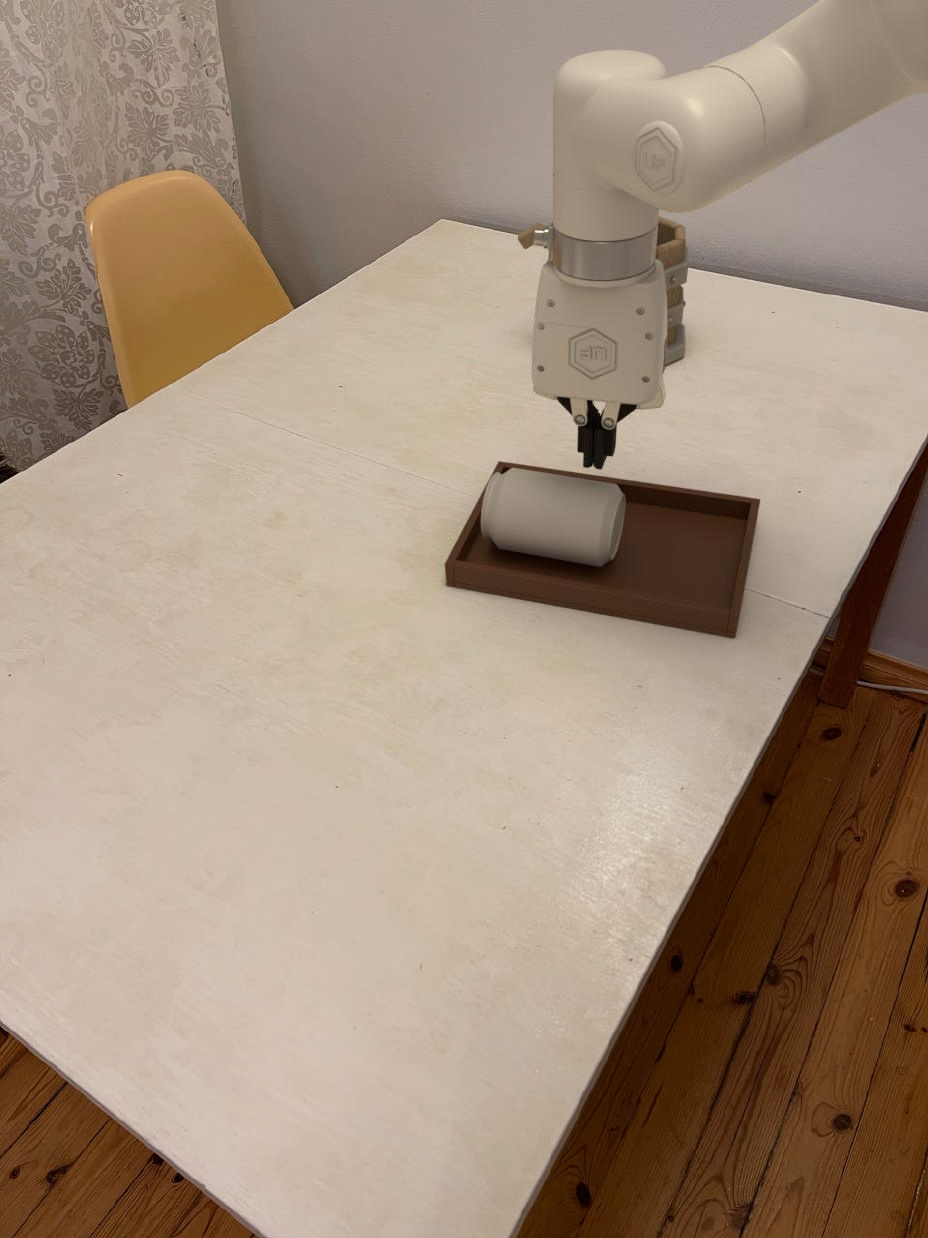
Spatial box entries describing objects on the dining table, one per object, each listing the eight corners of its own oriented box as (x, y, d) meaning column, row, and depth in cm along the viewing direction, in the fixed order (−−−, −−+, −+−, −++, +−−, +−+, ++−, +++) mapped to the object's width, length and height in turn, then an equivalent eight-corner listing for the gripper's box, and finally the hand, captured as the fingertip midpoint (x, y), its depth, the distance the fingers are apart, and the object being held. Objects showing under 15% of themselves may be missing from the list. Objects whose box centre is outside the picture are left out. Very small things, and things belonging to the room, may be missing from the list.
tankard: (682, 323, 122) (696, 201, 111) (684, 373, 113) (699, 246, 102) (524, 320, 125) (524, 200, 114) (514, 368, 115) (512, 244, 105)
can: (622, 476, 82) (488, 455, 85) (604, 563, 82) (470, 538, 85) (630, 494, 89) (506, 474, 92) (614, 573, 89) (490, 551, 92)
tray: (756, 521, 92) (760, 498, 90) (735, 638, 81) (739, 615, 79) (499, 482, 99) (498, 460, 97) (446, 585, 87) (444, 563, 86)
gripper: (491, 261, 70) (500, 472, 82) (700, 276, 66) (676, 496, 78) (519, 222, 75) (524, 427, 88) (715, 234, 71) (690, 447, 84)
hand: (596, 459), depth 83 cm, fingers closed
